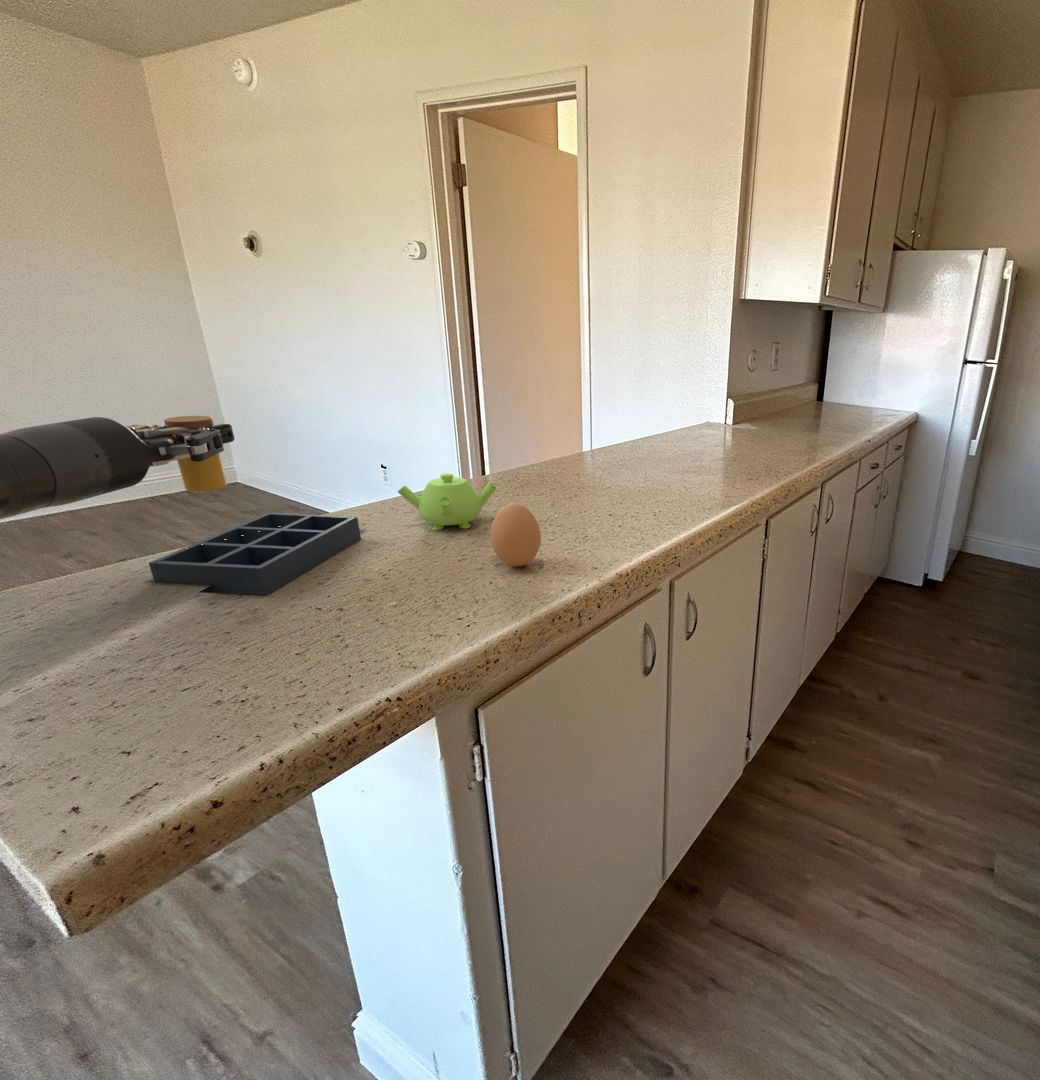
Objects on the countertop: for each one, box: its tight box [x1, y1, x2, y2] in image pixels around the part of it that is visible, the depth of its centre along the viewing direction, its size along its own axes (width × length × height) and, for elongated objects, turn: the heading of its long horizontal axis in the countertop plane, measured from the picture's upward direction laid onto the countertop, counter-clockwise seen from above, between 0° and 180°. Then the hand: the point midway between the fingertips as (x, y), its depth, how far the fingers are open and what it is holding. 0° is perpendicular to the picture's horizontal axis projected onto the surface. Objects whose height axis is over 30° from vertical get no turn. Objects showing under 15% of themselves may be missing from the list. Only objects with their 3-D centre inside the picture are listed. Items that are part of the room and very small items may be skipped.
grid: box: [148, 512, 362, 596], centre depth 80 cm, size 13×20×4 cm
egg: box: [490, 502, 542, 568], centre depth 82 cm, size 7×7×9 cm
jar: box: [163, 415, 228, 492], centre depth 72 cm, size 4×4×8 cm
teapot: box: [397, 472, 498, 531], centre depth 97 cm, size 11×12×8 cm
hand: (211, 431), depth 74 cm, fingers closed on jar, 4 cm apart
